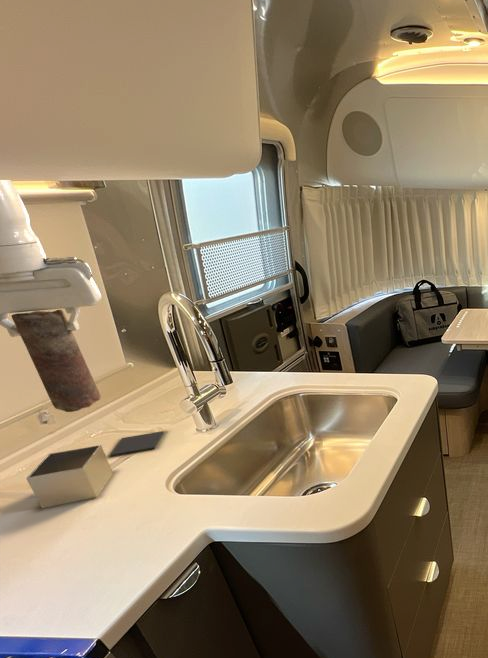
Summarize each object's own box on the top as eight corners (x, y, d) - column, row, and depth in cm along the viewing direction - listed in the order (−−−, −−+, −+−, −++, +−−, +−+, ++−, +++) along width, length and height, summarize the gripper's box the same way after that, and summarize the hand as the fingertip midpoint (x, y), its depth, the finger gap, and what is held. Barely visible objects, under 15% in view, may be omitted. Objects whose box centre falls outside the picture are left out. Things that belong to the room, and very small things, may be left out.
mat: (111, 456, 111) (110, 454, 111) (122, 439, 118) (122, 438, 118) (154, 448, 114) (154, 446, 114) (163, 432, 121) (163, 431, 121)
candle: (45, 409, 98) (1, 313, 90) (86, 395, 104) (48, 304, 96) (70, 415, 96) (27, 317, 88) (110, 400, 102) (73, 308, 94)
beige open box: (42, 508, 94) (26, 478, 91) (63, 481, 102) (48, 453, 99) (96, 497, 97) (83, 467, 94) (113, 472, 105) (101, 444, 102)
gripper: (91, 253, 94) (117, 322, 100) (-50, 261, 87) (-13, 335, 93) (77, 258, 89) (106, 330, 95) (-74, 267, 82) (-33, 344, 87)
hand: (46, 332), depth 94 cm, fingers closed on candle, 7 cm apart
